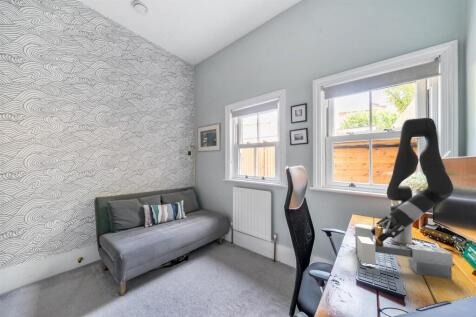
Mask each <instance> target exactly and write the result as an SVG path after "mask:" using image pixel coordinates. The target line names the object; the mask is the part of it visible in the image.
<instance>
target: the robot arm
mask: <svg viewBox="0 0 476 317" xmlns="http://www.w3.org/2000/svg"><path fill="white" fill-rule="evenodd" d="M423 137H424V139H425V144H424V147H423V149H422V151H421V152H420V155H419V157H418V155H417V153H416V151H415V150H414V148H413V147H412V143H411V142H412V140H413V139H412V138H423ZM438 139H439V138H438V133H437V125H436V122H435V120H434V119H433V118H432V117H418V118H417V117H416V118H408V119H406V120H404V122H403V123H402V125H401V130H400V139H399V145H398V149H397V150H398V151H397V154H396V157H395V159H394V160H395V161H394V165H393V170H392V174H391V177H390V180H389V182H388V186H387V189H386V197H387V198H388V200H391V201H397V202H400V203H398V204H396V205H395V204H394V205H391V207H390V212H389V216H390V217H388V216H384V217H383V218H382V219H380V220H379V221H377V222H376V225H375V226H378V227H382V228H383V230H384V231H383V234H381V235H380V236H378V237H377V239H378V240H379V241H381V242H383V243H384V241H386V240H387V239H388V238H391V240H392V241H393V242H396V243H399V244H403V245H406V244H410V245H413V229H412V226H413V225H412V224H414V223H415V222H416V221H418V220H419V219H421V217H422V216H423V215H424V214H426V213H427V212H429V211H431V209H432V208H434V207H435V206H438V205H439V204H440V203H442V202H444V201H446V200H447V199H448V198H449V197H451V196H452V193H453V192H454V185H453V182H452V180H451V178H450V176H449V175H448V173H447V171H446V168H445V164H444V162H443V159H442V157H441V153H440V146H439V140H438ZM418 164H420V168H421V171H422V174H423V175H424V176H425V180H426V183H427V187H426V188H425V189H424V190H423V191H421V192H420V193H417V194H415V195H413V191H412V188H411V187H410V185H409V186H408V185H401V183H403V181H405V180H406V179H408V178H409V177H411V176H413V174H414V173H415V172H416V170H417V168H418ZM371 232H372V233H373V236H374V235H375V227H374V228H373V229H372V230H371Z"/></svg>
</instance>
